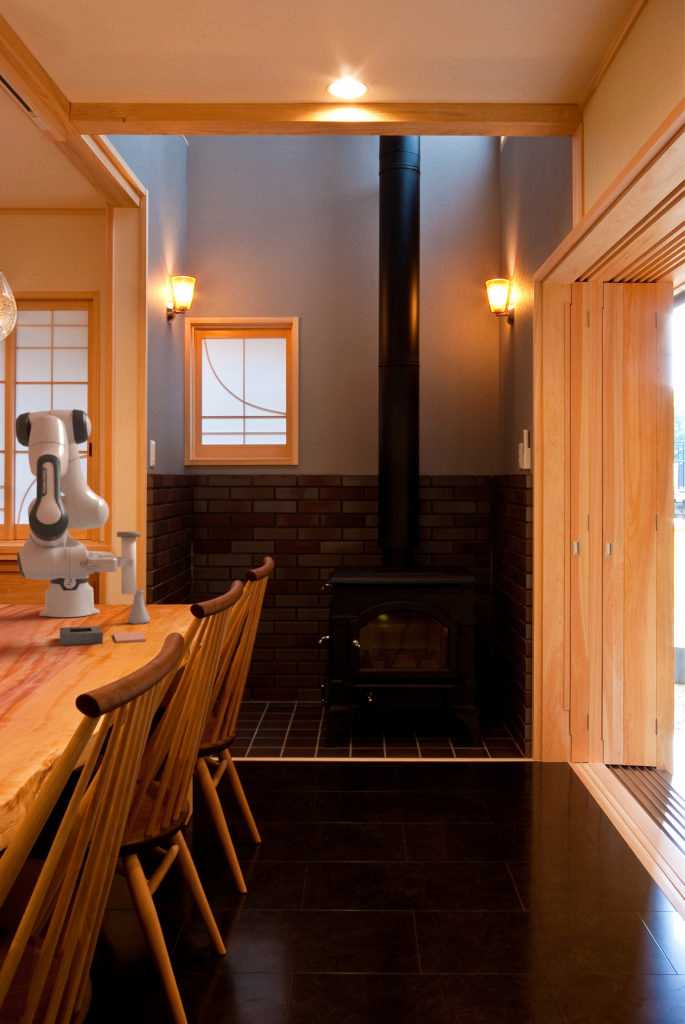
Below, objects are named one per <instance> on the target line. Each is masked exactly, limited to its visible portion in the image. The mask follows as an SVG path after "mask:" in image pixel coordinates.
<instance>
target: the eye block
mask: <svg viewBox="0 0 685 1024" xmlns="http://www.w3.org/2000/svg"><path fill="white" fill-rule="evenodd" d="M103 635H104V633H103V629H102V625H88V626H87V625H85V626H70V627H69V626H68V627H67V626H66V627H59V646H62V647H63V646H64V647H65V646H78V645H79V646H81V645H96V644H97V645H98V644H103V643H104V642H103V641H104V639H103V638H104V637H103Z"/></svg>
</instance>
